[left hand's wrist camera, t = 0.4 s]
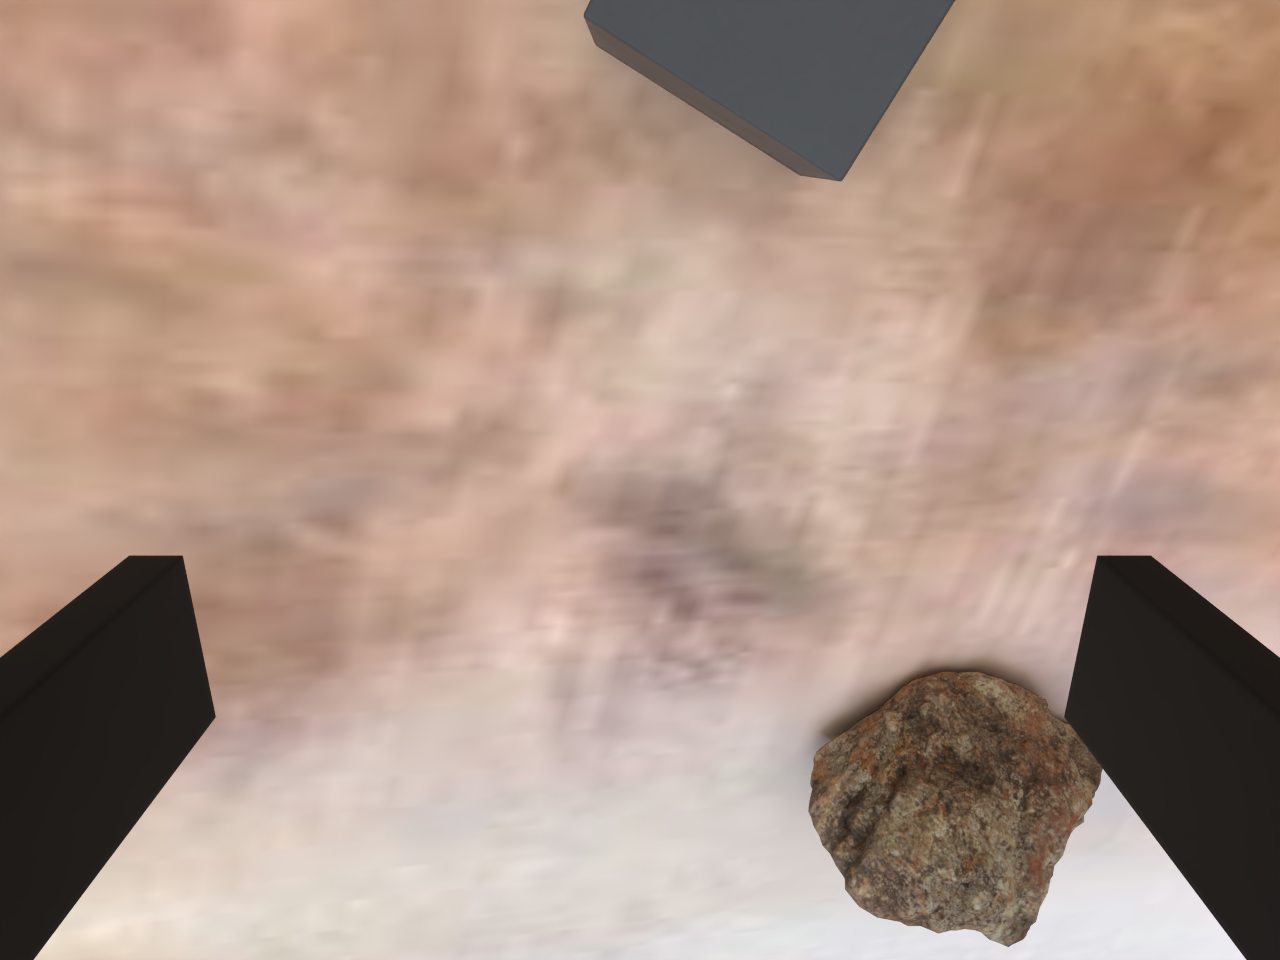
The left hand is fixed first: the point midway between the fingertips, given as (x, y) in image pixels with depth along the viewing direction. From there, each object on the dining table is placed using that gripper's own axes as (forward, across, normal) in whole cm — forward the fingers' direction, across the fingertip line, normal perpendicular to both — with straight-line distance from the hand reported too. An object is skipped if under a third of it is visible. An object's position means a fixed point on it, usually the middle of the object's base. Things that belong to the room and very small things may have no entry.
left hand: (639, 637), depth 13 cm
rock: (+25, +16, -22) cm, 37 cm away
